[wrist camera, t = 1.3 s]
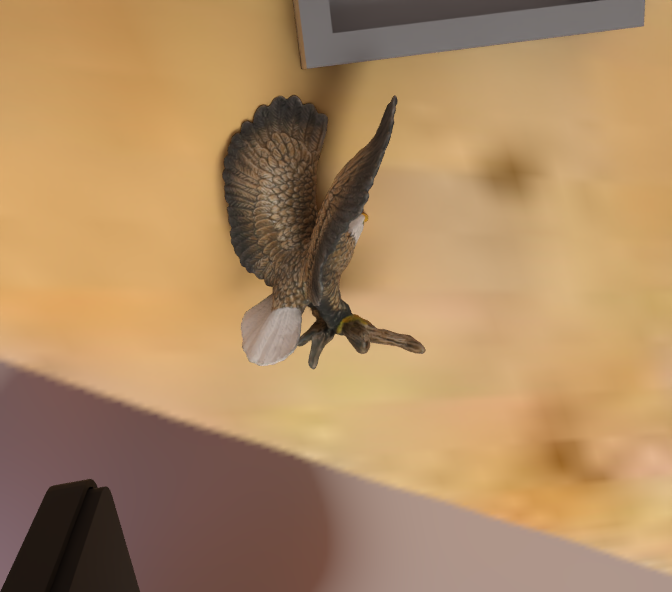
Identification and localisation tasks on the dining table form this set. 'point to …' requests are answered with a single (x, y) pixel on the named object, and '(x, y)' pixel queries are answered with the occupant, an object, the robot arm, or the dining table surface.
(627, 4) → the holder
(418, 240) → the dining table surface
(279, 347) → the eagle figurine
